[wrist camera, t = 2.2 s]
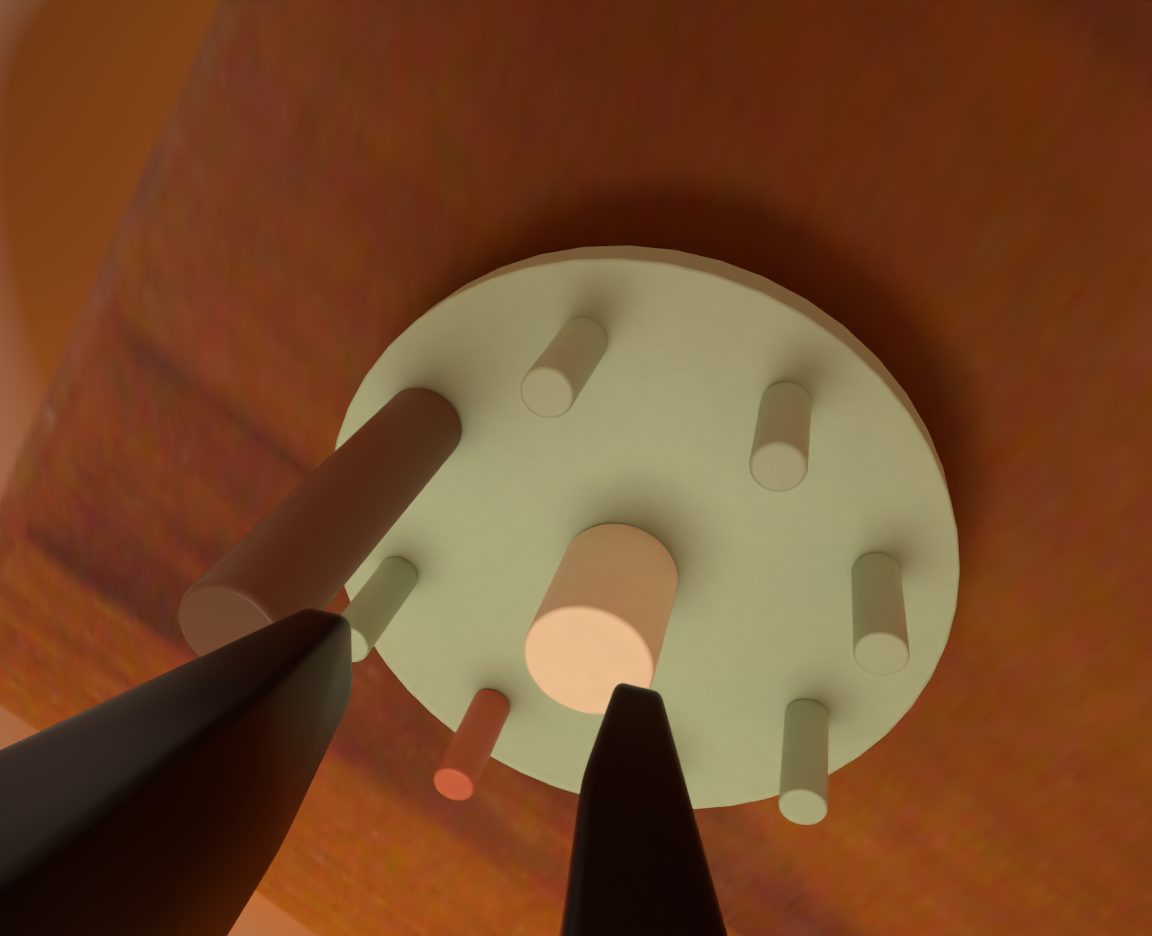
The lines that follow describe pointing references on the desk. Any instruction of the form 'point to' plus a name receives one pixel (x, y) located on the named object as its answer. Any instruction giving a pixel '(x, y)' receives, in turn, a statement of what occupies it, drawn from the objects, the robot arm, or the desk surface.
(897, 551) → the pegged crank wheel
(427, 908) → the desk surface
